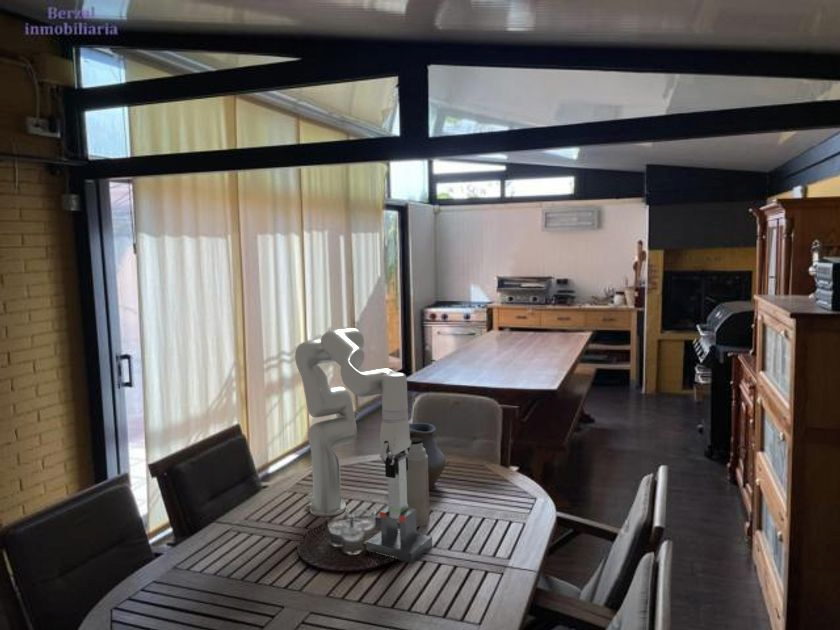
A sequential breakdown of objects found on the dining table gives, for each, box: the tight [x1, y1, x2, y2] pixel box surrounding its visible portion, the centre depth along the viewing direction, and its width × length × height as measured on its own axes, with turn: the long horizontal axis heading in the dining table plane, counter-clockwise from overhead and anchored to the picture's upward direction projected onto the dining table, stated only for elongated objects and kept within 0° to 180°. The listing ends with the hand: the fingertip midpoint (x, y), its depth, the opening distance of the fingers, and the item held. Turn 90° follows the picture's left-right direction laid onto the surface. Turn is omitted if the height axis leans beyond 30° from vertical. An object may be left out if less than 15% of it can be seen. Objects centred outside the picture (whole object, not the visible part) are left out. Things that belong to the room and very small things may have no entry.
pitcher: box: [409, 422, 447, 490], centre depth 237 cm, size 21×22×25 cm
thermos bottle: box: [406, 438, 431, 528], centre depth 207 cm, size 8×8×28 cm
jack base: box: [365, 506, 433, 564], centre depth 189 cm, size 16×12×12 cm
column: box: [387, 453, 408, 520], centre depth 188 cm, size 5×5×19 cm
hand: (397, 472), depth 188 cm, fingers open, 6 cm apart
